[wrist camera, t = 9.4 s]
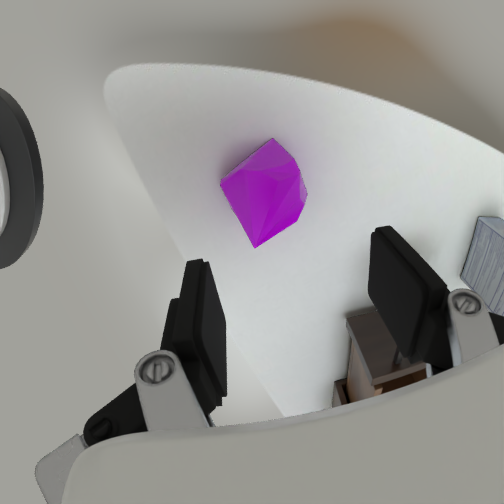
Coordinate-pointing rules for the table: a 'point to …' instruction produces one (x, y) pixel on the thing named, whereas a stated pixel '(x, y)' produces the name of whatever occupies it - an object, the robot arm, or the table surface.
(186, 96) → the table surface
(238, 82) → the table surface
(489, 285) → the medicine box
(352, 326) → the drawer
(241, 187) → the crystal
